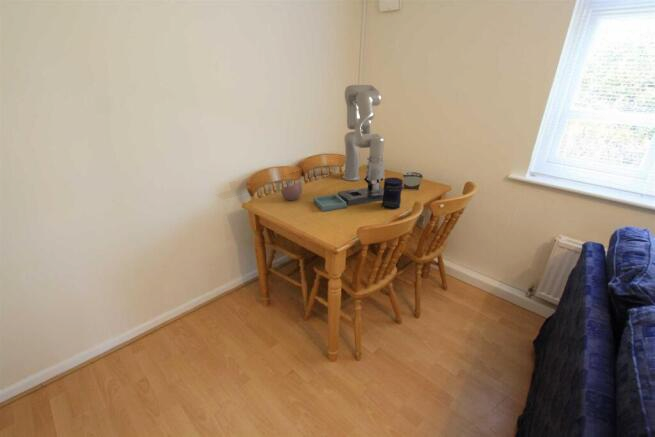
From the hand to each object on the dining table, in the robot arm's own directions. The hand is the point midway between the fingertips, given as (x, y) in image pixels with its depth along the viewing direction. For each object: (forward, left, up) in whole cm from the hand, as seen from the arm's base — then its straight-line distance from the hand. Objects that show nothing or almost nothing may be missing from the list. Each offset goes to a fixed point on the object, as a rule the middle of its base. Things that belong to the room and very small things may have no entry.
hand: (373, 189), depth 179 cm
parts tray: (+2, -29, -5) cm, 29 cm away
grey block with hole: (0, -6, -5) cm, 8 cm away
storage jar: (+16, +2, -5) cm, 17 cm away
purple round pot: (-14, -46, -5) cm, 48 cm away
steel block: (0, 0, -5) cm, 5 cm away
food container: (-4, +30, -5) cm, 31 cm away
